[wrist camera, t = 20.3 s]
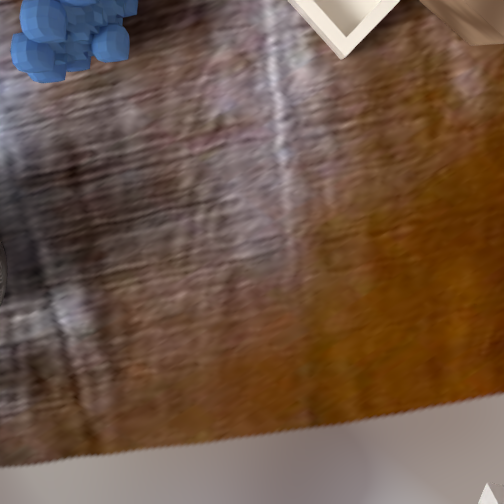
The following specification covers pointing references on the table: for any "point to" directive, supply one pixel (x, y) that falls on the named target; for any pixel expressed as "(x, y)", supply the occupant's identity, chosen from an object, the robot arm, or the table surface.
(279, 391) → the table surface
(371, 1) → the tray
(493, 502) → the robot arm
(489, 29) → the walnut block
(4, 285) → the planter
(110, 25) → the grapes
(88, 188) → the table surface
